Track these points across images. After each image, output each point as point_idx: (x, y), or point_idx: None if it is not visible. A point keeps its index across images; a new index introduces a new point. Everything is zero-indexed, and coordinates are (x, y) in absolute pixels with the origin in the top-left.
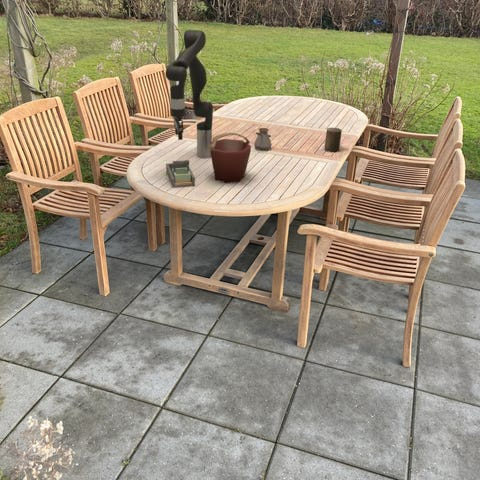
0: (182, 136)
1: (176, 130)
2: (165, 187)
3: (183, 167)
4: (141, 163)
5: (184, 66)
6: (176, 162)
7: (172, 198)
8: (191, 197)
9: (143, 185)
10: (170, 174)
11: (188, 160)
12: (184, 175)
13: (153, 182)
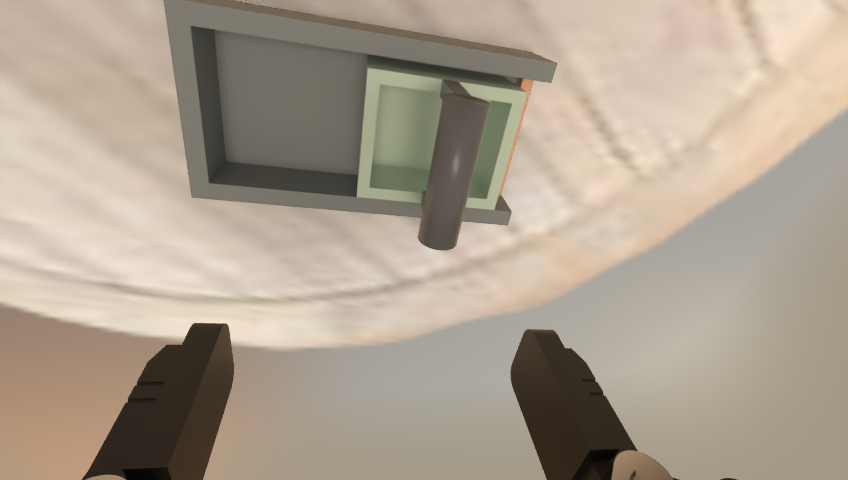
0: (577, 372)
1: (205, 446)
2: (468, 230)
3: (207, 40)
4: (27, 281)
5: None
6: (459, 223)
7: (615, 230)
8: (668, 135)
9: (399, 317)
10: None
11: (475, 109)
12: (511, 141)
13: (376, 271)
